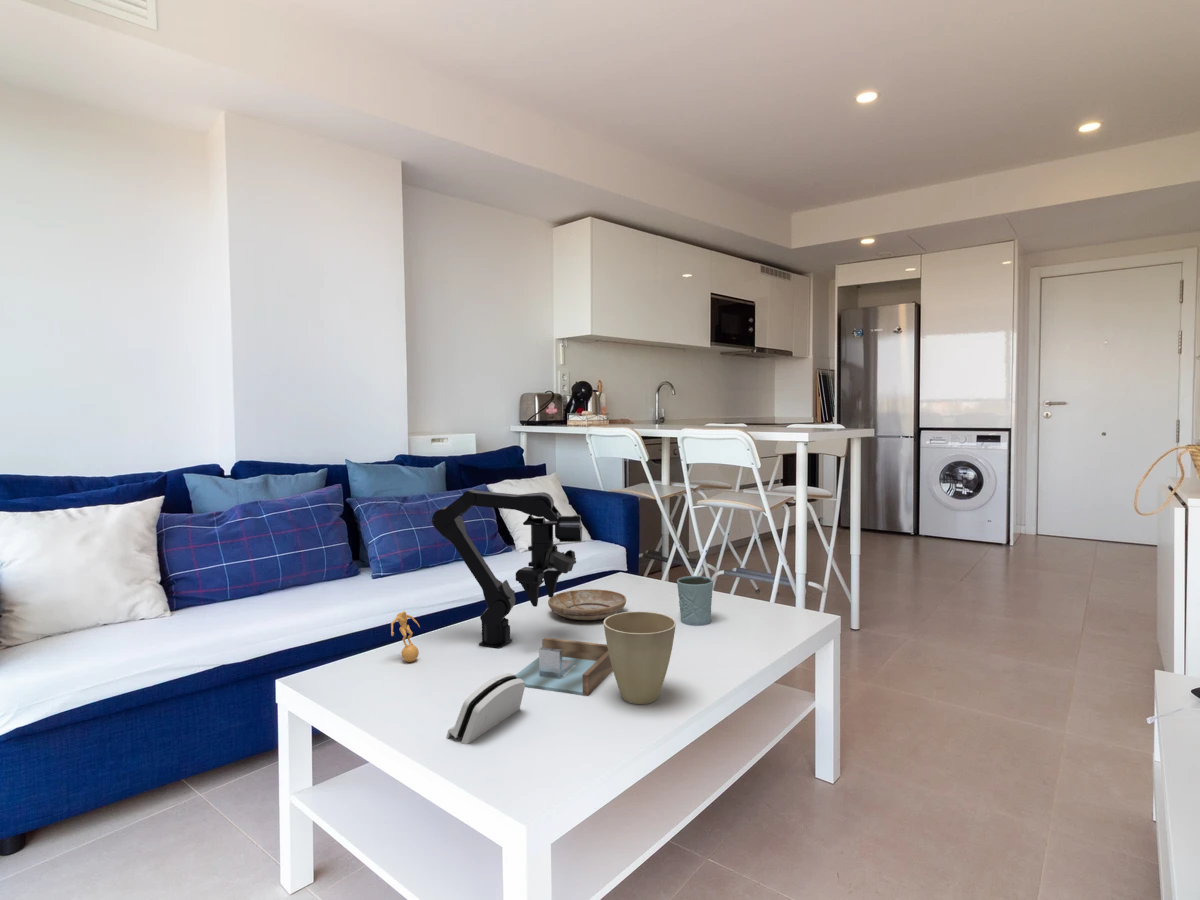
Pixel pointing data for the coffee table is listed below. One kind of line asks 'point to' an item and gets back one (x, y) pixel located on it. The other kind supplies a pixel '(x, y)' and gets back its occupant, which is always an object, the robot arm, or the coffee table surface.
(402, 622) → the figurine
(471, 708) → the grey arched casing
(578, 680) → the corner arena
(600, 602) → the ceramic bowl
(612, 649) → the plant pot
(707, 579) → the embossed green cup
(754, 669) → the coffee table surface
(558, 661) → the aluminium bracket
